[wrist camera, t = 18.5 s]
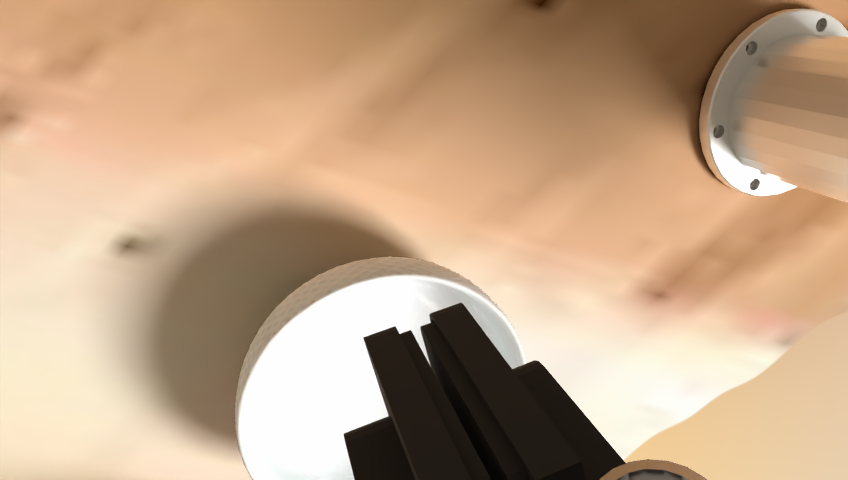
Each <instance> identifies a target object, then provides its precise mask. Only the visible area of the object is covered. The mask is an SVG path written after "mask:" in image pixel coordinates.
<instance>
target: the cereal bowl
mask: <svg viewBox="0 0 848 480" xmlns="http://www.w3.org/2000/svg"><path fill="white" fill-rule="evenodd" d="M458 303H463V304H464V306H465V307H466V308H467V310H468V311H469V312H470V314H471V315H472V316H473V318H474V319H475V320H476V322H477V323H478V324H479V326H480V327H481V328H482V330H483V331H484V332H485V334H486V335H487V336H488V338H489V339H490V340H491V342H492V343H493V344H494V346H495V347H496V348H497V350H498V351H499V352H500V354H501V355H502V356H503V358H504V359H505V360H506V362H507V363H508V364H509V366H510V367H511V368H512V369H514V368H516V367H519V366H522V365H524V364H527V363H526V359H525V354H524V351H523V348H522V345H521V342H520V340H519V337H518V335H517V333H516V332H515V330H514V328H513V326H512V324H511V323H510V321H509V320H508V319H507V317H506V315H505V314H504V313H503V311H501V310H500V309H499V308H498V306H497V304H495V302H493V301H492V300H491V299H490V297H489V296H488V295H487V294H486V293H484V292H483V291H482V290H481V289H480V288H479V287H478V286H476V285H474V284H473V283H472V282H471V281H470V280H468V279H466V278H464V277H463V276H461V275H460V274H458V273H455V272H453V271H451V270H450V269H447V268H445V267H442V266H439V265H437V264H435V263H432V262H427V261H424V260H419V259H412V258H408V257H392V256H388V257H378V258H374V257H373V258H370V259H362V260H360V261H353V262H351V263H346V264H344V265H340V266H336V267H335V268H333V269H329V270H327V271H326V272H324V273H321V274H318V275H317V276H316V277H314V278H312V279H311V280H310V281H308V282H306V283H303V284H302V285H301V286H300V287H299V288H297V289H296V290H295V291H294V292H292V293H291V294H289V295H288V296H287V297H286V299H284V300H283V301H282V302H281V303H280V304H279V305H278V306H277V307H276V308H275V309H274V310H273V311H272V313H271V314H270V315H269V316H268V318H267V319H266V320H265V322H264V323H263V325H262V326H261V327H260V328H259V330H258V332H257V334H256V336H255V338H254V340H253V341H252V343H251V345H250V348H249V350H248V352H247V354H246V357H245V359H244V363H243V365H242V368H241V372H240V377H239V380H238V386H237V392H236V404H235V424H236V428H235V432H236V436H237V441H238V449H239V451H240V454H241V457H242V460H243V463H244V465H245V467H246V469H247V471H248V473H249V475H250V477H251V478H252V480H355V479H354V476H353V472H352V468H351V464H350V460H349V456H348V452H347V448H346V444H345V440H344V433H346V432H349V431H351V430H354V429H356V428H359V427H362V426H364V425H367V424H370V423H372V422H375V421H377V420H380V419H383V418H385V417H388V412H387V409H386V406H385V403H384V400H383V397H382V394H381V391H380V388H379V385H378V382H377V379H376V376H375V373H374V370H373V367H372V364H371V361H370V358H369V354H368V351H367V348H366V345H365V342H364V339H363V337H366V336H369V335H372V334H374V333H377V332H380V331H383V330H385V329H388V328H391V327H394V326H396V328H397V330H398V332H399V334H401V333H404V332H406V331H409V330H411V331H412V333H413V335H414V336H415V338H416V340H417V342H418V344H419V346H420V348H421V350H422V351H423V353H424V355H425V357H426V359H427V361H428V363H429V364H430V362H429V359H428V355H427V352H426V348H425V344H424V341H423V337H422V334H421V329H420V326H423V325H426V324H428V323H431V322H430V316H429V315H430V313H433V312H436V311H438V310H441V309H444V308H447V307H450V306H452V305H455V304H458Z"/></svg>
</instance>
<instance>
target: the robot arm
mask: <svg viewBox="0 0 848 480" xmlns="http://www.w3.org/2000/svg"><path fill="white" fill-rule="evenodd" d="M699 130H700V141H701V146H702V151H703V154H704V157H705V159H706V162H707V164H708V166H709V168H710V169H711V170H712V172H713V173H714V175H715V176H716V177H717V178H718V179H719V180H720V181H721V182H723V183H724V184H725V185H726V186H728V187H730V188H732V189H735V190H737V191H739V192H742V193H745V194H748V195H752V196H771V195H777V194H781V193H783V192H786V191H789V190H791V189H794V188H795V187H800V188H803V189H806V190H809V191H812V192H815V193H818V194H821V195H825V196H828V197H831V198H834V199H837V200H840V201H843V202H846V203H848V30H847V29H846V28H845V27H844V26H843V25H842V23H841V22H840V21H838V20H837V19H835V18H834V17H833V16H831V15H830V14H828V13H824V12H821V11H818V10H815V9H786V10H781V11H778V12H775V13H772V14H769V15H767V16H765V17H763V18H761V19H760V20H758V21H756V22H754V23H753V24H751V25H750V26H749V27H748V28H747V29H745V30H744V31H743V32H742V33H741V34H739V35H738V36H737V38H736V39H735V40H734V41H733V42H732V43H731V44H730V46H729V47H728V48H727V49H726V50H725V52H724V53H723V55H722V57H721V58H720V60H719V61H718V63H717V64H716V66H715V68H714V70H713V72H712V74H711V77H710V79H709V81H708V83H707V86H706V90H705V93H704V96H703V100H702V105H701V111H700V118H699ZM429 316H430V322H431V323H428V324H426V325H423V326H420V329H421V334H422V337H423V341H424V344H425V348H426V352H427V355H428V359H429V362H430V364H429V363H428V361H427V359H426V357H425V355H424V353H423V351H422V350H421V348H420V346H419V344H418V342H417V340H416V338H415V336H414V335H413V333H412V331H411V330H409V331H406V332H404V333H401V334H399V332H398V330H397V328H396V326H394V327H391V328H388V329H385V330H383V331H380V332H377V333H374V334H372V335H369V336H366V337H363V339H364V342H365V345H366V348H367V351H368V354H369V358H370V361H371V364H372V367H373V370H374V373H375V376H376V379H377V382H378V385H379V388H380V391H381V394H382V397H383V400H384V403H385V406H386V409H387V412H388V417H385V418H383V419H380V420H377V421H375V422H372V423H370V424H367V425H364V426H362V427H359V428H356V429H354V430H351V431H349V432H346V433H344V440H345V444H346V448H347V452H348V456H349V460H350V464H351V468H352V472H353V476H354V479H355V480H707V479H705V478H704V477H703V476H701V475H699V474H698V473H696V472H694V471H693V470H691V469H689V468H688V467H685V466H682V465H679V464H676V463H672V462H669V461H662V460H661V461H660V460H649V459H647V460H640V461H633V462H628V463H625V462H624V461H623V460H622V458H621V457H620V456H619V455H618V454H617V453H616V451H615V450H614V449H613V448H612V447H611V445H610V444H609V443H608V442H607V441H606V439H605V438H604V437H603V436H602V435H601V434H600V432H599V431H598V430H597V429H596V428H595V426H594V425H593V424H592V423H591V422H590V420H589V419H588V418H587V417H586V416H585V415H584V413H583V412H582V411H581V410H580V409H579V407H578V406H577V405H576V404H575V403H574V401H573V400H572V399H571V398H570V397H569V396H568V394H567V393H566V392H565V391H564V390H563V388H562V387H561V386H560V385H559V384H558V382H557V381H556V380H555V379H554V378H553V377H552V375H551V374H550V373H549V372H548V371H547V369H546V368H545V367H544V366H543V365H542V364H541V363H540V362H539V361H532V362H529V363H527V364H524V365H522V366H519V367H516V368H514V369H512V368H511V367H510V366H509V364H508V363H507V362H506V360H505V359H504V358H503V356H502V355H501V354H500V352H499V351H498V350H497V348H496V347H495V346H494V344H493V343H492V342H491V340H490V339H489V338H488V336H487V335H486V334H485V332H484V331H483V330H482V328H481V327H480V326H479V324H478V323H477V322H476V320H475V319H474V318H473V316H472V315H471V314H470V312H469V311H468V310H467V308H466V307H465V306H464V304H463V303H458V304H455V305H452V306H450V307H447V308H444V309H441V310H438V311H436V312H433V313H430V315H429Z"/></svg>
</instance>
